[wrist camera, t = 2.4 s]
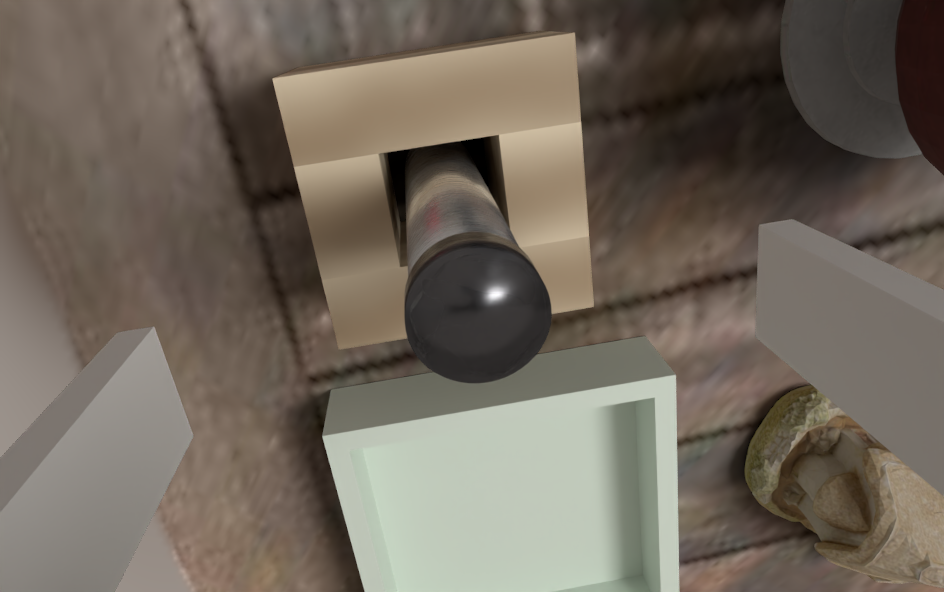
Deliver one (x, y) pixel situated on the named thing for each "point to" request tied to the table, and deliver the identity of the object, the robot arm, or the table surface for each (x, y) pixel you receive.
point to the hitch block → (430, 123)
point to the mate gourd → (868, 74)
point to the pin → (466, 273)
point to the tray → (514, 476)
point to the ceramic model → (847, 491)
